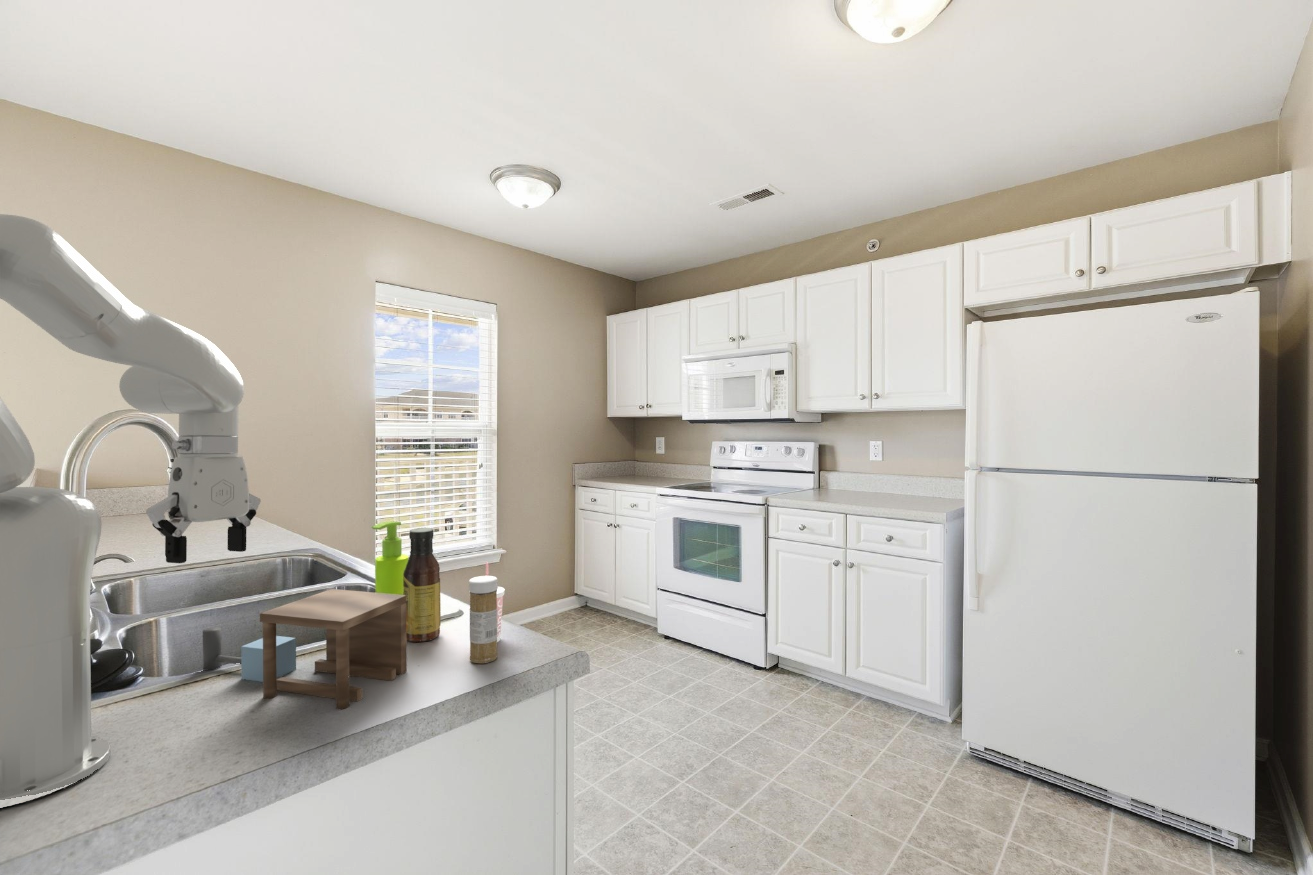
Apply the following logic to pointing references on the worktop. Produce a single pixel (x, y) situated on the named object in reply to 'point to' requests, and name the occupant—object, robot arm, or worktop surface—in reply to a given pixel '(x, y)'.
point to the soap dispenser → (390, 562)
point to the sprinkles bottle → (483, 619)
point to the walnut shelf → (341, 641)
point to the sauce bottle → (422, 588)
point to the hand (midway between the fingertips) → (208, 556)
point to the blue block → (248, 655)
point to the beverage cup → (499, 605)
